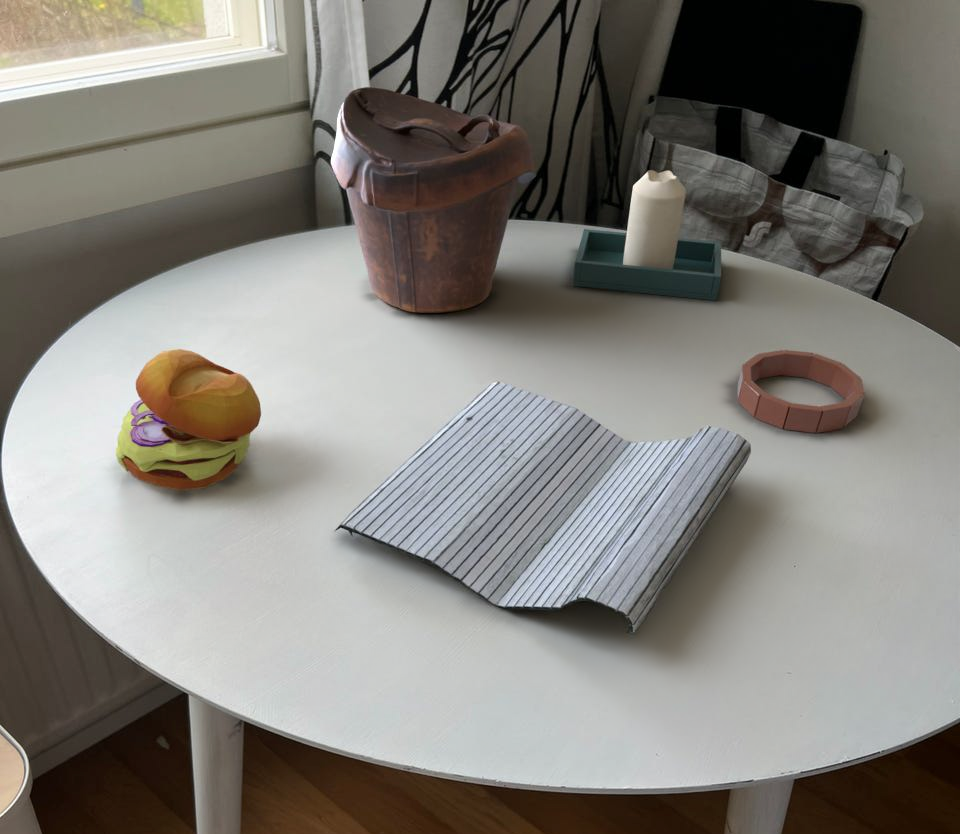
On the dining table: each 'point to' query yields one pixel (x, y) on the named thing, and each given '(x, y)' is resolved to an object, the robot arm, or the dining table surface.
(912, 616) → the dining table surface
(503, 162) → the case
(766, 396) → the faceted band ring
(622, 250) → the tray
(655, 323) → the dining table surface
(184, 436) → the cheeseburger
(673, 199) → the candle
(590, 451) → the mat
